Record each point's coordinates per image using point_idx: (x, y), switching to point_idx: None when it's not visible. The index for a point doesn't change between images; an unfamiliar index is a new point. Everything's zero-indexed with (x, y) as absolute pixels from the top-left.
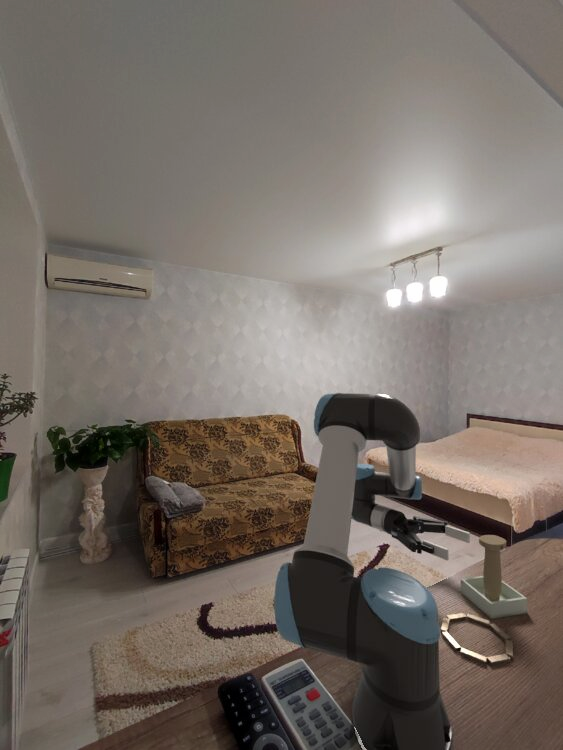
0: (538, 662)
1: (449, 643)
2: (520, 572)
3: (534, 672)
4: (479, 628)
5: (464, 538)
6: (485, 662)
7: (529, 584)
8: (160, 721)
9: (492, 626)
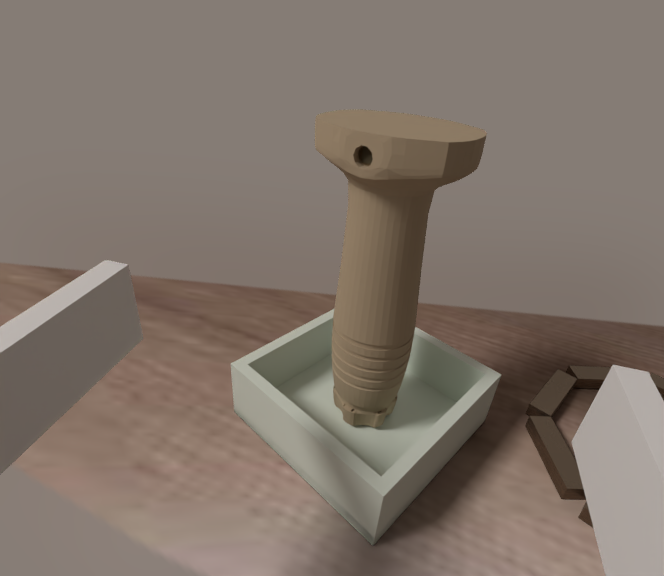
0: (567, 337)
1: None
2: None
3: (615, 345)
4: None
5: (112, 336)
6: None
7: (155, 321)
8: None
9: (553, 407)
